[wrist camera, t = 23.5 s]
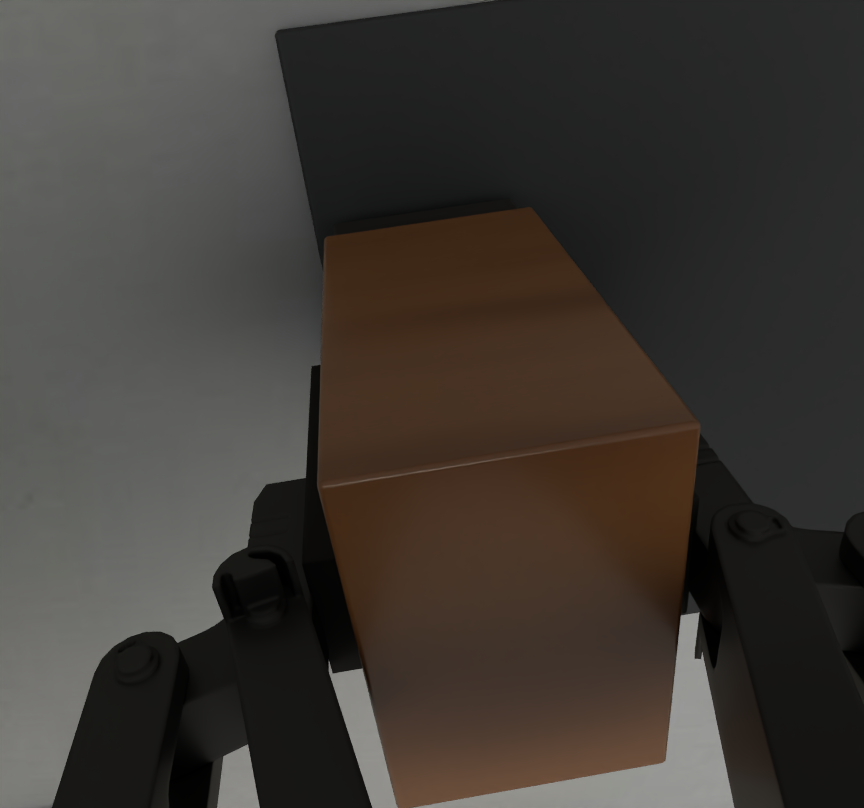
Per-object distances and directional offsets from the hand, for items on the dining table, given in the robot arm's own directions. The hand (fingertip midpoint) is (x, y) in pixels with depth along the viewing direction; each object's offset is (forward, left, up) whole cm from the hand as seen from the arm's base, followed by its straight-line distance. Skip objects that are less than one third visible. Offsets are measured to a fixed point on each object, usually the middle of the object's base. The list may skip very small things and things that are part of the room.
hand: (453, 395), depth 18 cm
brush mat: (+3, +10, -4) cm, 11 cm away
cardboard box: (0, 0, -3) cm, 3 cm away
